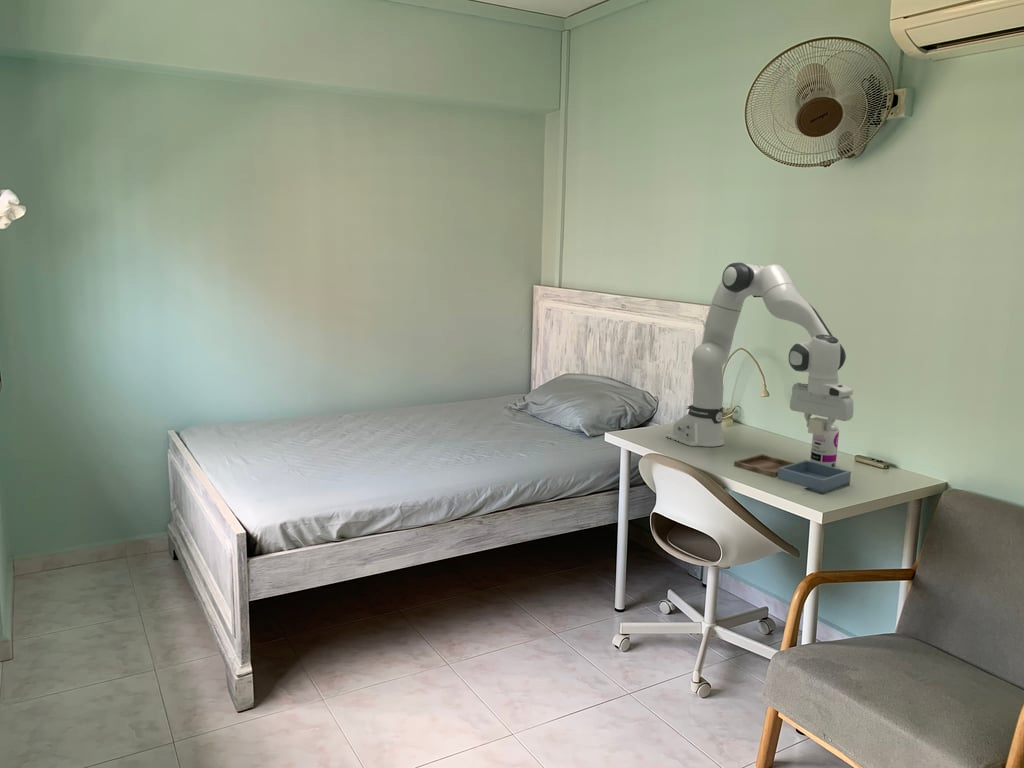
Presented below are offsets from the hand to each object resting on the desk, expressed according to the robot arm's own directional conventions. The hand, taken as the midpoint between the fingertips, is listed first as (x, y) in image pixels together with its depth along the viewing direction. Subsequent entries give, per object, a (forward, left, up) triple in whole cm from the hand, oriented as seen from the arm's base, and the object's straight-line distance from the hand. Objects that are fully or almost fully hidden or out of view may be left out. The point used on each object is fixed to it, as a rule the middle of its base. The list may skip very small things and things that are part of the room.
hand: (818, 429), depth 254 cm
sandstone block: (0, 0, -1) cm, 1 cm away
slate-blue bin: (0, 0, -18) cm, 18 cm away
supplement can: (-8, +19, -18) cm, 27 cm away
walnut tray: (-17, 0, -18) cm, 25 cm away
